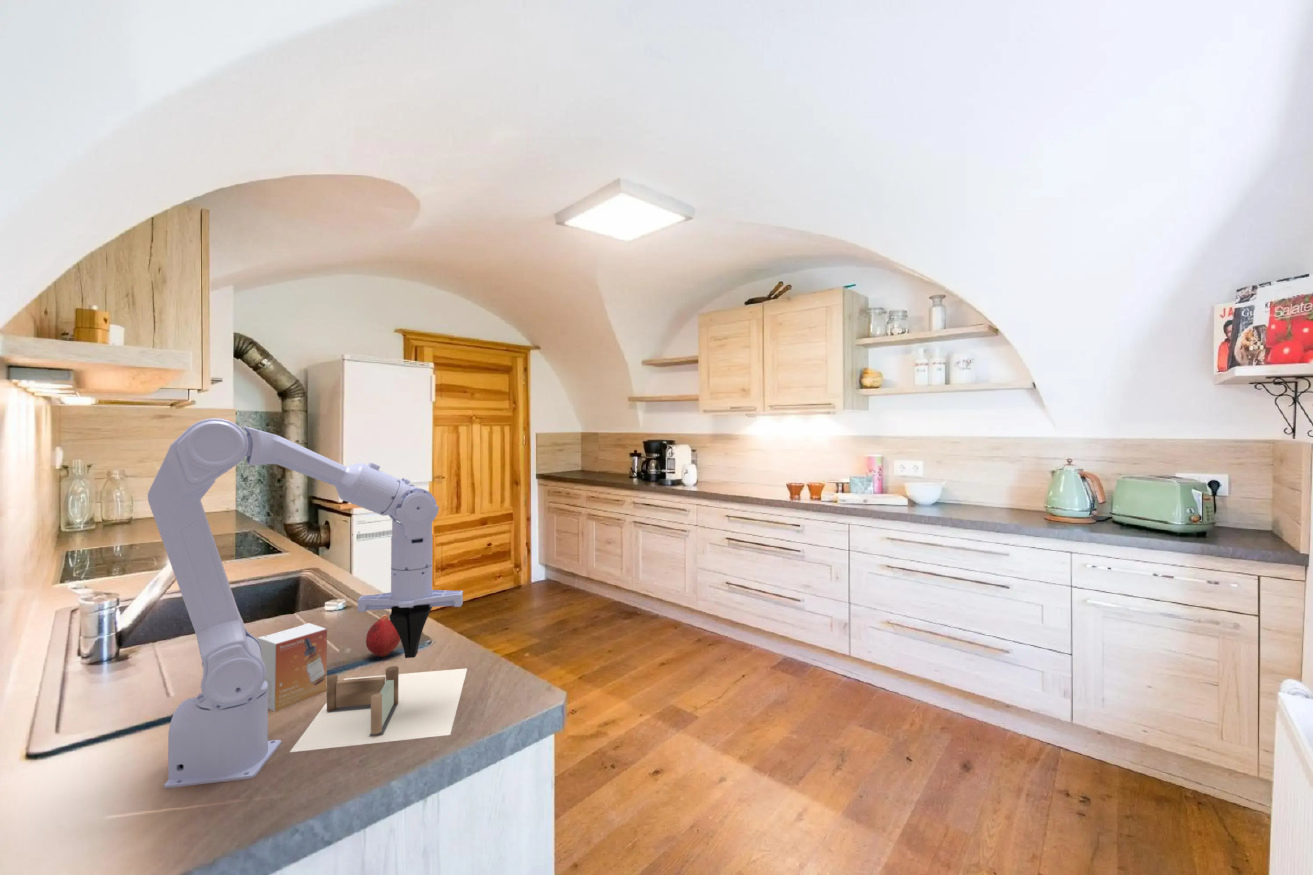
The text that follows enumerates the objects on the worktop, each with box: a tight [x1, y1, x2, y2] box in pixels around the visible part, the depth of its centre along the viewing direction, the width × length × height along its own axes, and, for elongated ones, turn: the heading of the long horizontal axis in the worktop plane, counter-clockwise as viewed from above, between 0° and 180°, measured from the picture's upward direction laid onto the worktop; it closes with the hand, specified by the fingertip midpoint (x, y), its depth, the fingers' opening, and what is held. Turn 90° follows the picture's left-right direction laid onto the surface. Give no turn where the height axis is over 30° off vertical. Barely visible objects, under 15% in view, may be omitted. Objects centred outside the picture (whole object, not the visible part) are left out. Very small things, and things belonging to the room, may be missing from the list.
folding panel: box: [371, 680, 394, 734], centre depth 80 cm, size 8×1×5 cm, turn 13°
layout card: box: [289, 667, 468, 753], centre depth 85 cm, size 20×22×1 cm
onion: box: [365, 614, 401, 658], centre depth 104 cm, size 6×6×8 cm
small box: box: [256, 622, 328, 712], centre depth 88 cm, size 8×6×10 cm
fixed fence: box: [326, 665, 400, 712], centre depth 84 cm, size 10×2×6 cm, turn 103°
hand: (411, 655), depth 83 cm, fingers closed
